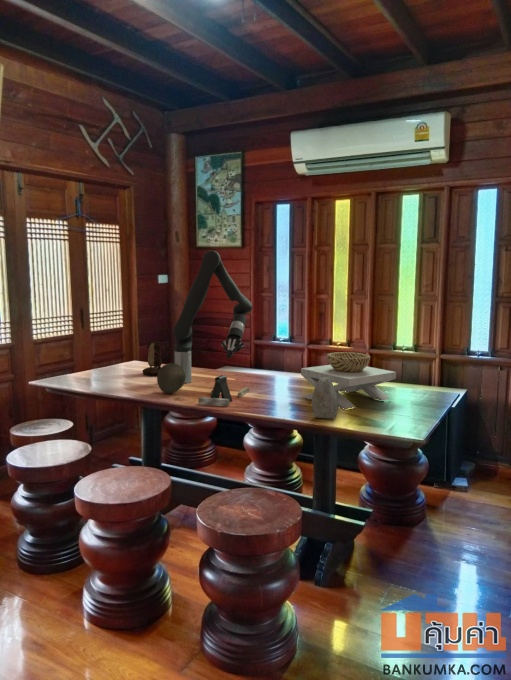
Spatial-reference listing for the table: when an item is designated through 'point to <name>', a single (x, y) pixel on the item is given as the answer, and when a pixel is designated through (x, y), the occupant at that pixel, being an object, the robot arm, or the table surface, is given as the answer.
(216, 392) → the phone stand
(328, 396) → the decorative stone
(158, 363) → the oval plaque on stand
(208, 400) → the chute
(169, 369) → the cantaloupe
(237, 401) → the table surface
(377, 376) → the small white table
